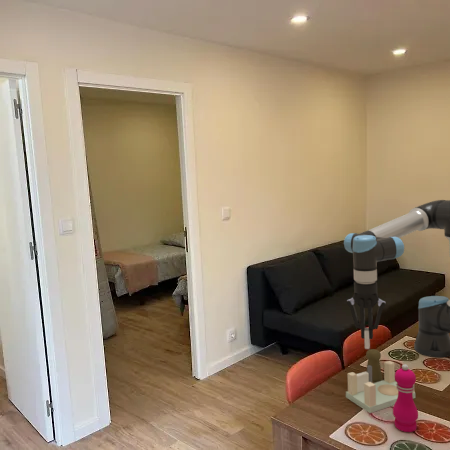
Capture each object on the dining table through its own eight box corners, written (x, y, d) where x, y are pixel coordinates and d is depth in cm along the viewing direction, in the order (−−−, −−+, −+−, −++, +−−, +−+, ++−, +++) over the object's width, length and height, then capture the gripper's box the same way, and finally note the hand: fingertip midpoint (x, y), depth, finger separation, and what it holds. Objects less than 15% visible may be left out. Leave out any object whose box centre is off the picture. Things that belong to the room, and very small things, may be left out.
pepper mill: (388, 421, 141) (388, 360, 139) (411, 418, 142) (410, 358, 140) (399, 434, 134) (399, 370, 132) (422, 432, 135) (422, 368, 132)
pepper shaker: (383, 382, 166) (383, 354, 165) (366, 381, 168) (365, 353, 166) (381, 374, 172) (380, 347, 171) (364, 374, 173) (364, 347, 172)
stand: (389, 383, 165) (389, 357, 164) (415, 397, 154) (415, 370, 153) (345, 397, 157) (345, 370, 156) (369, 413, 146) (369, 384, 145)
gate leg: (365, 387, 159) (364, 368, 158) (369, 389, 157) (369, 370, 156) (348, 392, 156) (347, 373, 155) (352, 395, 154) (351, 375, 153)
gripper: (386, 278, 154) (387, 344, 157) (347, 277, 158) (349, 341, 162) (385, 284, 147) (386, 353, 150) (344, 283, 152) (346, 350, 155)
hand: (367, 347), depth 156 cm, fingers closed
